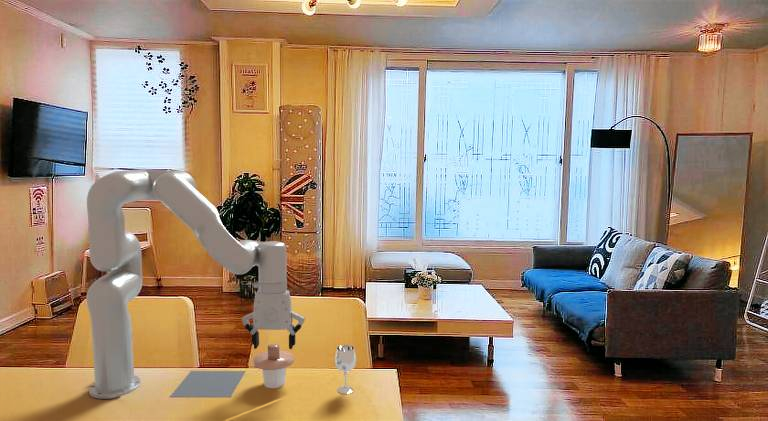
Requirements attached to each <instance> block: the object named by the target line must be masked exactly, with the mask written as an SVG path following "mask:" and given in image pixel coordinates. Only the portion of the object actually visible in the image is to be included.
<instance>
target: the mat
mask: <svg viewBox="0 0 768 421" xmlns="http://www.w3.org/2000/svg"><path fill="white" fill-rule="evenodd" d="M245 373H246V370H190V371H189V373H188V374H187V375H186V376H185V378H183V380H182V381H181V382H180V383H179V385H178V386H177V387H176V388H175V390H174V391H173V392H172V393H171V394H170V396H169V398H231V397H232V396H233V394H234V392H235V391H236V389H237V387H238V385H239V383H240V382H241V380H242V379H243V377H244V375H245Z"/></svg>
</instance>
